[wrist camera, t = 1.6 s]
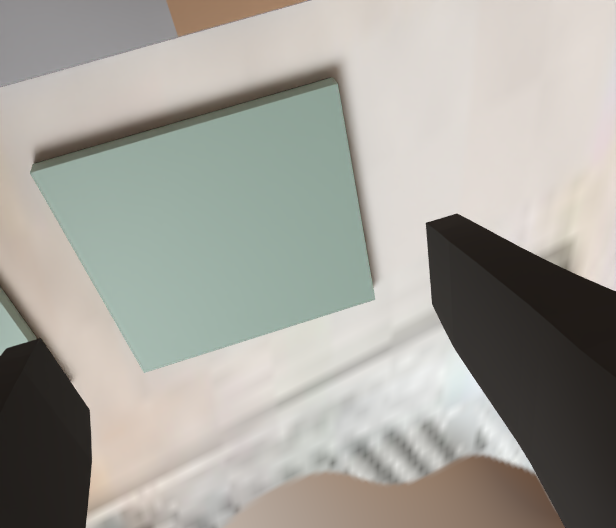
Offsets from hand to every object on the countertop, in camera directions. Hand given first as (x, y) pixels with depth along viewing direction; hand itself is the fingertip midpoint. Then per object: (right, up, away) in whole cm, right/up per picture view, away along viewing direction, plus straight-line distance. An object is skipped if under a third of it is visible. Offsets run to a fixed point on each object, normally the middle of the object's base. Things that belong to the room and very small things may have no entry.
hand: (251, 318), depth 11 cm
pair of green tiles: (-8, 0, +9) cm, 12 cm away
